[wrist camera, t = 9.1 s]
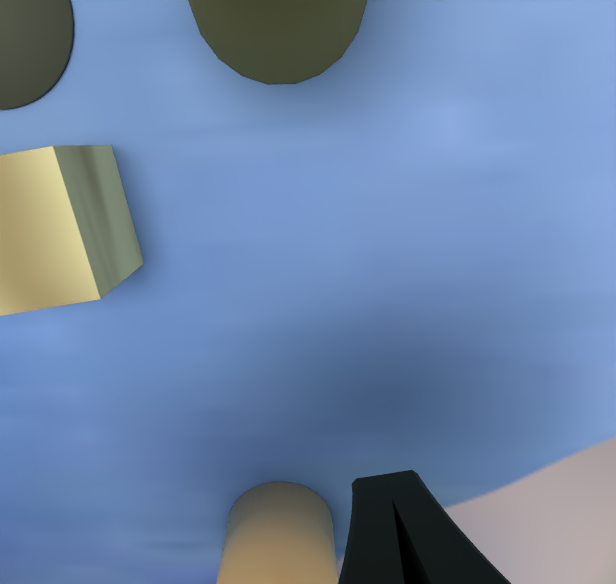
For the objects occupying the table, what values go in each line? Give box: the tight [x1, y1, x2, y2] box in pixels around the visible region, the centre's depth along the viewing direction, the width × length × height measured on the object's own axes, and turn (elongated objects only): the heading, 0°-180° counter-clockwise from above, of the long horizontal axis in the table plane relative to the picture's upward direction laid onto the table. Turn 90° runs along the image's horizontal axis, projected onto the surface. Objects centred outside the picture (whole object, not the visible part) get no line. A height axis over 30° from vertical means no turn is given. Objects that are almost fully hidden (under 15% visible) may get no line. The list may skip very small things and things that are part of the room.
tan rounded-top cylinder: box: [216, 482, 338, 584], centre depth 20 cm, size 5×5×5 cm
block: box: [0, 145, 144, 316], centre depth 16 cm, size 4×4×4 cm
